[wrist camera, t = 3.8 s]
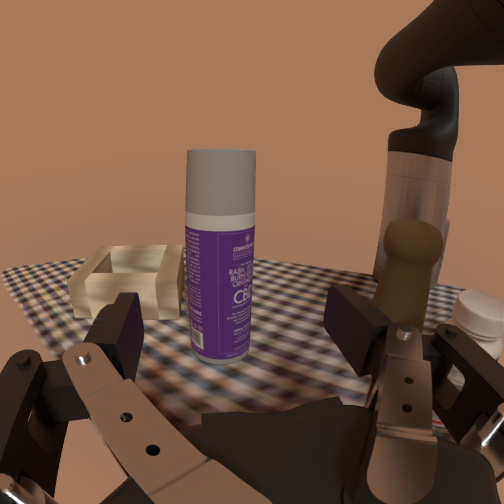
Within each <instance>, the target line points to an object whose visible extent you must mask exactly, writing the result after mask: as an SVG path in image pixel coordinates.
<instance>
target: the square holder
mask: <svg viewBox="0 0 504 504" xmlns="http://www.w3.org/2000/svg"><path fill="white" fill-rule="evenodd" d="M183 281H184V260H183V245H146V246H103V247H100V248H99V249H98V250H97V251H96V252H95V253H94V254H93V255H92V256H91V257H90V258H89V259H88V260H87V261H86V262H85V263H84V264H83V265H82V266H81V267H80V268H79V269H78V270H77V271H76V272H75V273H74V274H73V275H72V276H71V277H70V278H69V279H68V280H67V284H68V288H69V293H70V297H71V302H72V306H73V310H74V314H75V318H95V319H96V316H97V315H98V313H99V311H100V310H101V309H102V308H103V307H105V306H106V305H107V304H114V302H115V300H116V298H117V296H118V294H119V293H120V292H137V293H138V295H139V299H140V306H141V313H142V319H143V320H168V319H180V312H181V301H182V291H183Z"/></svg>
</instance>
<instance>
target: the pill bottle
mask: <svg viewBox="0 0 504 504" xmlns="http://www.w3.org/2000/svg"><path fill="white" fill-rule="evenodd" d="M444 324H451V325H454V326H457V327H458V328H460V329H461V330H462V331H464V332H465V333H466V334H467V335H468V336H469V337H471V338H472V339H473V340H474V341H475V342H476V343H477V344H479V345H480V346H481V347H482V348H483V349H484V350H485V351H486V352H487V353H489V354H490V355H491V356H492V357H493V358H494V359H495V360H496V361H497V360H498V358H499V356H500V354H501V351H502V346H503V345H502V337H503V335H504V302H502V301H501V300H499V299H498V298H496V297H494V296H491V295H490V294H487V293H484V292H481V291H476V290H464V291H461V292H460V293H459V294H458V297H457V300H456V302H455V305H454V308H453V310H452V317H451V318H449V319H448V320H447V321H446V322H445V323H444ZM447 378H448V379H449V380H450V381H451V382H452V383H453V384H454V385H455V387H456V388H457V389H458V390H459V391H460V392H461V390H462V388H463V387H464V383H465V379H464V376H463V374H462V373H461V372H460V371H459V370H458V369H457V368H456V367H455V366H454V365H453V366H452V369H451V371H450V373H449V375H448V376H447ZM432 425H433V426H437V427H445V426H444V424H443V423H442V422H441V420H440V419H439V418H438V416H437V415H436V413H435V412H434V411H433V409H432Z"/></svg>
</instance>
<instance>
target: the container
mask: <svg viewBox="0 0 504 504" xmlns="http://www.w3.org/2000/svg"><path fill="white" fill-rule="evenodd" d="M255 171H256V151H252V150H239V149H194V150H188V151H187V171H186V172H187V173H186V205H185V208H186V210H185V214H186V215H185V237H186V238H185V240H186V267H187V287H188V303H189V317H190V330H191V341H192V350H193V352H194V354H195V355H196V356H197V357H198V358H199V359H201V360H203V361H205V362H207V363H211V364H219V365H223V364H231V363H234V362H237V361H239V360H241V359H242V358H244V357H245V356H246V355H247V353H248V351H249V345H250V324H251V302H252V279H253V255H254V233H255Z"/></svg>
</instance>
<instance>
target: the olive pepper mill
mask: <svg viewBox="0 0 504 504" xmlns="http://www.w3.org/2000/svg"><path fill="white" fill-rule="evenodd" d="M383 245H384V251H385V253H386V255H387V259H386V262H385V265H384V268H383V271H382V274H381V277H380V280H379V283H378V286H377V289H376V291H375V294H374V297H373V300H372V303H373V304H374V306H376V307H377V308H378V309H379V311H381V312H382V313H384V314H385V315H386V316H387V317H388V318H389V319H390V320H391V321H392V322H393V323H406V324H410V325H412V326H414V327H415V328H417V329H418V330H419V331H420V333H421V334H422V329H423V324H424V319H425V314H426V308H427V302H428V296H429V289H430V282H431V274H432V267H433V266H434V265H435V264H436V263H437V262H438V260H439V258H440V256H441V254H442V250H443V238H442V234H441V232H440V231H439V230H438V229H437V228H436V227H434V226H432V225H431V224H428V223H426V222H423V221H420V220H415V219H396V220H394V221H391V222H390V224H389V225H388V226H387V228H386V231H385V234H384V240H383Z"/></svg>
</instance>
